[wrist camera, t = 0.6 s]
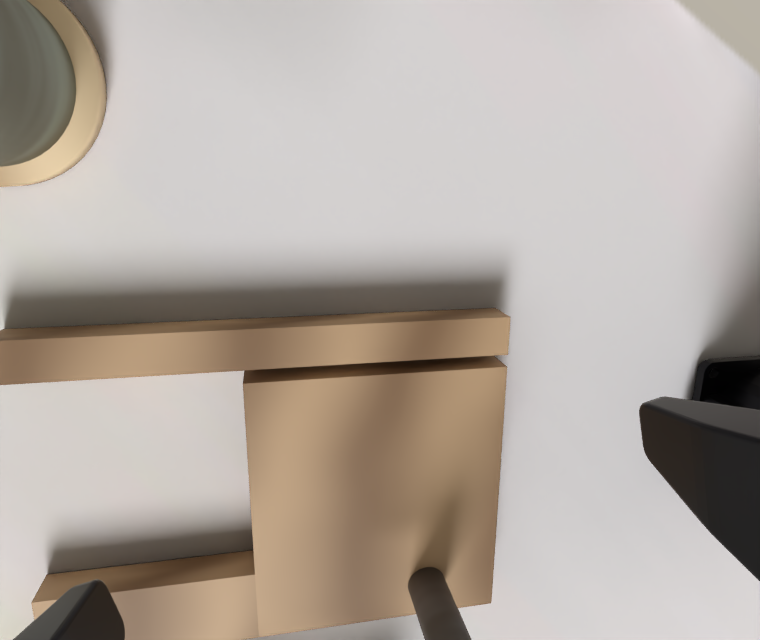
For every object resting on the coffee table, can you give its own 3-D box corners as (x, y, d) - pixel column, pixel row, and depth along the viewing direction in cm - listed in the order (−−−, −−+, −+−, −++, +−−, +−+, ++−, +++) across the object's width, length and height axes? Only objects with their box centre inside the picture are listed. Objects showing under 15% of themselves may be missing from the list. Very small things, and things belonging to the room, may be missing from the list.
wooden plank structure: (495, 307, 23) (580, 359, 16) (479, 579, 26) (544, 706, 20) (3, 328, 19) (-123, 403, 13) (58, 637, 23) (-22, 812, 16)
